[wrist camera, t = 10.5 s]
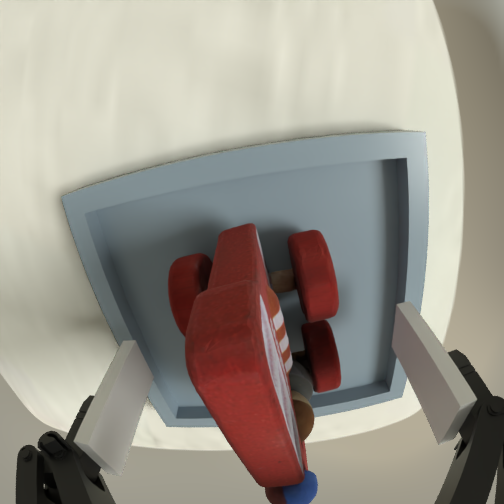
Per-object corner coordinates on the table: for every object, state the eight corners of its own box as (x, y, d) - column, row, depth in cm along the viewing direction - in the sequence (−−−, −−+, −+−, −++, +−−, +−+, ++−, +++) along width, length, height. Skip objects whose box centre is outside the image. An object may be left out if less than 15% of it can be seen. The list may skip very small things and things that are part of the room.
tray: (80, 188, 14) (61, 196, 13) (406, 130, 13) (425, 131, 11) (171, 408, 21) (166, 426, 20) (393, 379, 20) (401, 396, 18)
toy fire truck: (231, 389, 19) (221, 529, 9) (170, 218, 14) (52, 366, 5) (332, 373, 18) (365, 513, 9) (311, 188, 14) (418, 319, 4)
